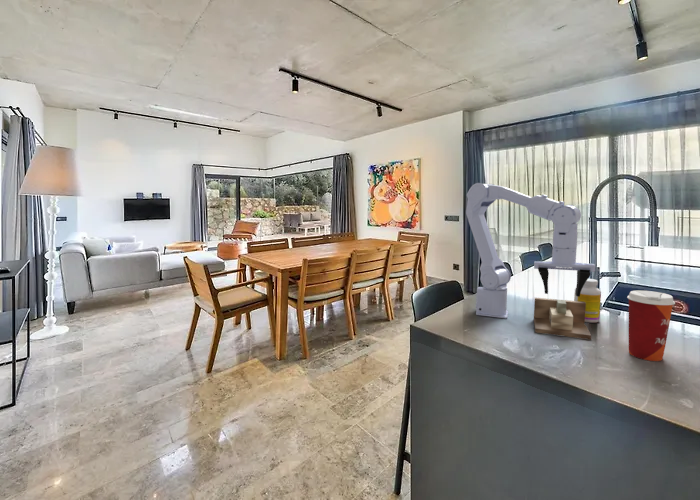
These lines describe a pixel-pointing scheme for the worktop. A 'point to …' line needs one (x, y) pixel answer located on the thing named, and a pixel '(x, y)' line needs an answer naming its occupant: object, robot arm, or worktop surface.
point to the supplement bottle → (590, 300)
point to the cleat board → (543, 321)
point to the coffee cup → (649, 323)
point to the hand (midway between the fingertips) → (561, 294)
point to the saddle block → (561, 316)
